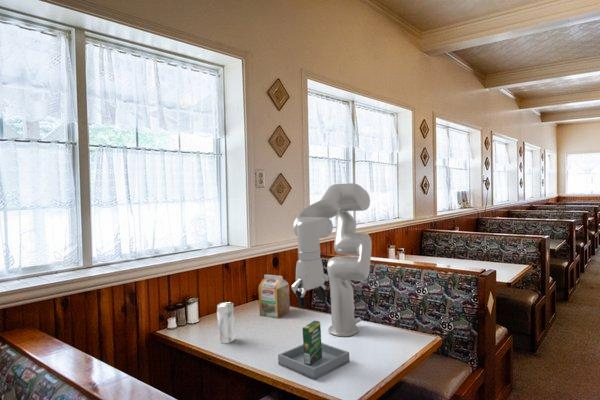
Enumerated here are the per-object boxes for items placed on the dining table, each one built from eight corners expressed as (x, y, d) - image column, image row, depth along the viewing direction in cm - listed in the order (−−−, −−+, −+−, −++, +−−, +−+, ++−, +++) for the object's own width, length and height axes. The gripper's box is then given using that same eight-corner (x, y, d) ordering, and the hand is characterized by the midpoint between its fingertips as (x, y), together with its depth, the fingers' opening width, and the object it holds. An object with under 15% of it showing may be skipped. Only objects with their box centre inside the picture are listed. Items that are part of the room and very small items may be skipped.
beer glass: (239, 338, 171) (237, 302, 170) (229, 344, 165) (227, 307, 164) (225, 336, 174) (223, 301, 173) (215, 342, 167) (213, 306, 167)
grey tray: (313, 348, 157) (313, 339, 157) (349, 362, 144) (349, 352, 144) (278, 364, 145) (277, 354, 144) (314, 380, 132) (313, 369, 132)
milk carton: (290, 312, 203) (288, 273, 202) (277, 318, 194) (276, 278, 193) (272, 309, 208) (270, 272, 208) (259, 315, 199) (257, 276, 199)
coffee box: (310, 366, 140) (308, 328, 139) (303, 364, 142) (301, 327, 141) (322, 357, 147) (321, 321, 146) (315, 356, 148) (314, 319, 148)
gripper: (318, 250, 151) (321, 296, 153) (283, 259, 140) (286, 308, 141) (334, 252, 146) (336, 299, 147) (298, 261, 134) (301, 313, 135)
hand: (312, 304), depth 144 cm, fingers open, 9 cm apart
